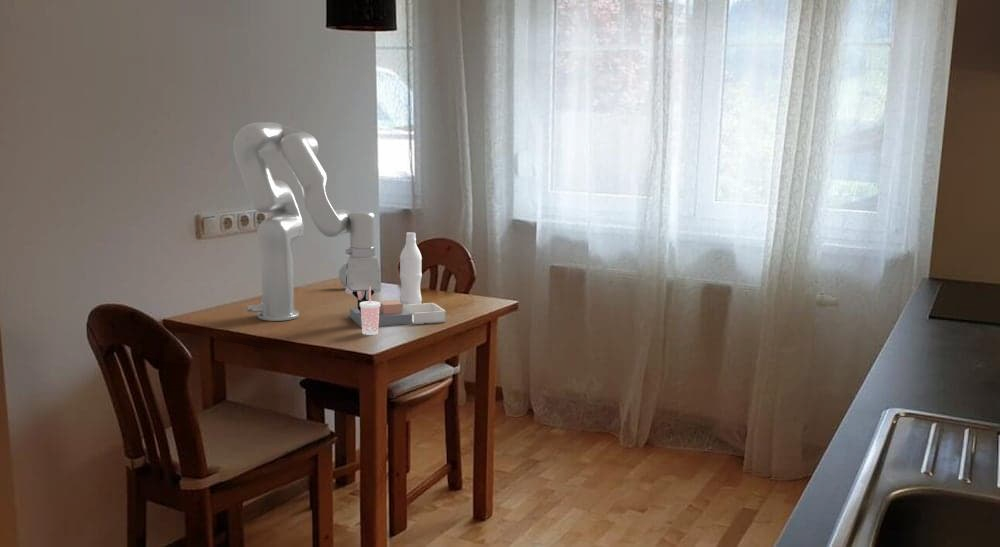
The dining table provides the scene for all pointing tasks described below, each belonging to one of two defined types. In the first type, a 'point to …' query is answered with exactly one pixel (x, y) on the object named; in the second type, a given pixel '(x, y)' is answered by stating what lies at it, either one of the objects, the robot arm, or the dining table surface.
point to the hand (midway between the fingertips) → (363, 311)
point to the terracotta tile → (390, 307)
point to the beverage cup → (370, 316)
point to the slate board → (384, 317)
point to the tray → (426, 313)
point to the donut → (342, 274)
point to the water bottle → (410, 271)
